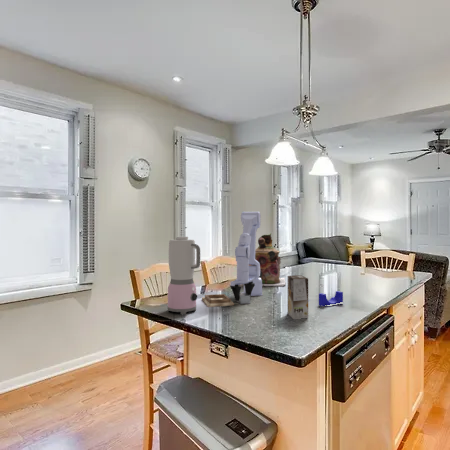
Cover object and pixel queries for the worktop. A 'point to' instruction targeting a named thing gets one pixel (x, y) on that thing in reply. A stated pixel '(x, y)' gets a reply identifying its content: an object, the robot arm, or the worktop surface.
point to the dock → (217, 300)
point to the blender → (182, 274)
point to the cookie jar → (268, 262)
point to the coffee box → (298, 296)
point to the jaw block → (244, 298)
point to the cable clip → (333, 300)
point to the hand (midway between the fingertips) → (242, 299)
